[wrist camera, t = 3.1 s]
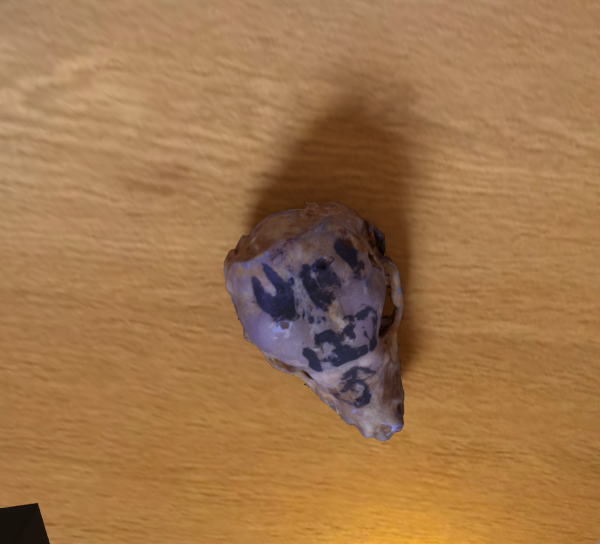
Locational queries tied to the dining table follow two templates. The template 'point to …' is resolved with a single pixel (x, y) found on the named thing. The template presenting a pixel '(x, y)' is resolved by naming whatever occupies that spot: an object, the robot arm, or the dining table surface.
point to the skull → (324, 309)
